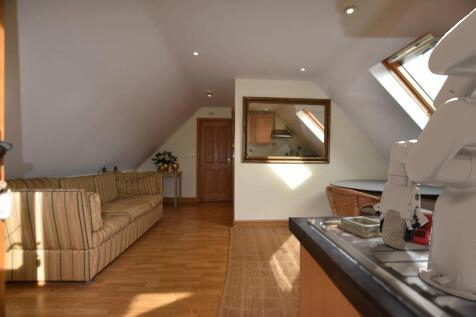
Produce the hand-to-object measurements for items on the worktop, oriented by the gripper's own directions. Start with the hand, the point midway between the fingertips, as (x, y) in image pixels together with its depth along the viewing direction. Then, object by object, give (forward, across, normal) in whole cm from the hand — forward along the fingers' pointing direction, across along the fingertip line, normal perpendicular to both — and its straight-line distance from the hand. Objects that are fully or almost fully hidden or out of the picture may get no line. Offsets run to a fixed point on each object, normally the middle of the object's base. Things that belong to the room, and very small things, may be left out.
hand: (395, 236), depth 76 cm
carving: (+3, 0, 0) cm, 3 cm away
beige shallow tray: (+3, +14, -4) cm, 15 cm away
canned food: (+3, +1, -14) cm, 15 cm away
